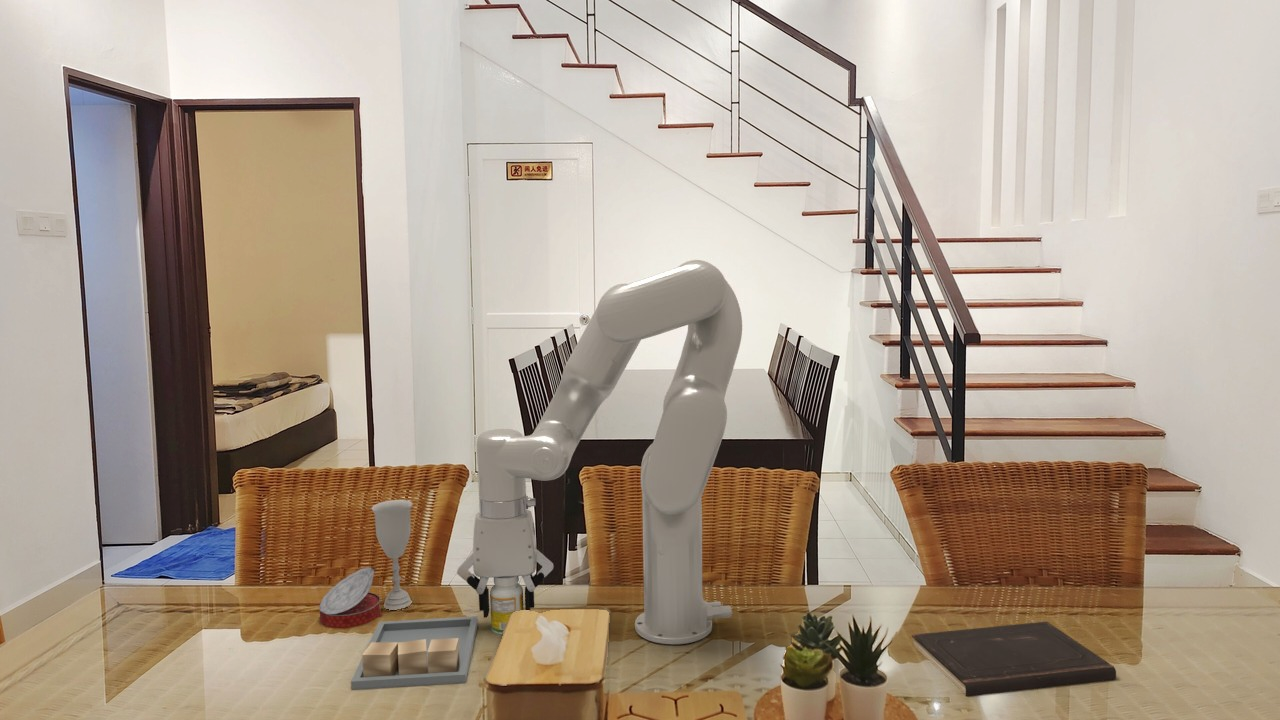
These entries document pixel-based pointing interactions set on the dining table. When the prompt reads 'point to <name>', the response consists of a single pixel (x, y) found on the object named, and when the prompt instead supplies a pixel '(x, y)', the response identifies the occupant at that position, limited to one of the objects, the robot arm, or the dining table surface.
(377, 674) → the block
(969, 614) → the dining table surface
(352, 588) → the canned food
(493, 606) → the supplement bottle
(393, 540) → the chalice
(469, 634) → the tray
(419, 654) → the block
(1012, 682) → the hardcover book
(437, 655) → the block
